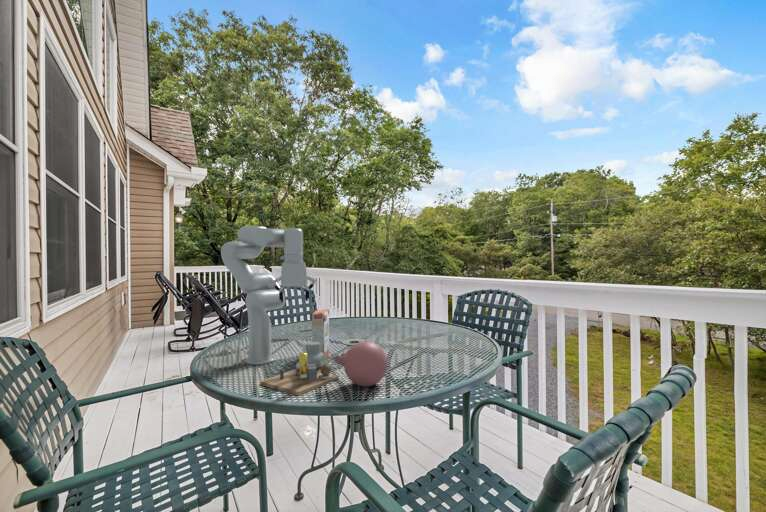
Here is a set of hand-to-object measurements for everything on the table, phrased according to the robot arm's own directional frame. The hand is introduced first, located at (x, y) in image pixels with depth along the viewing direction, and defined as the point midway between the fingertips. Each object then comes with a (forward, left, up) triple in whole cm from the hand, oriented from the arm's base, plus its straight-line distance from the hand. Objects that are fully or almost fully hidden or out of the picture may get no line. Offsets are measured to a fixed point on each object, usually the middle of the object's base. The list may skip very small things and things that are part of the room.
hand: (294, 301), depth 150 cm
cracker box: (-7, +22, -28) cm, 37 cm away
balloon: (+32, +1, -28) cm, 43 cm away
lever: (+12, -8, -25) cm, 29 cm away
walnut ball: (+18, -2, -26) cm, 32 cm away
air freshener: (+2, +8, -29) cm, 30 cm away
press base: (+11, -8, -28) cm, 31 cm away
